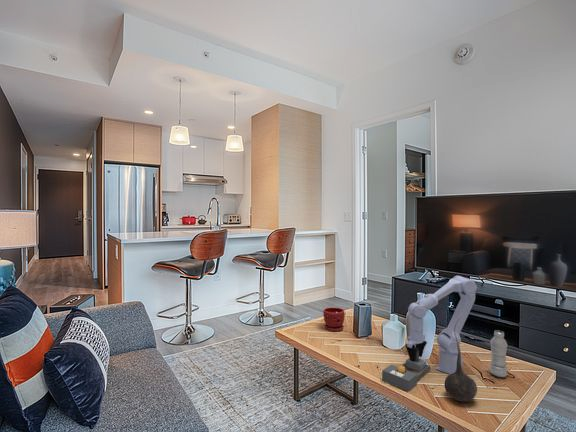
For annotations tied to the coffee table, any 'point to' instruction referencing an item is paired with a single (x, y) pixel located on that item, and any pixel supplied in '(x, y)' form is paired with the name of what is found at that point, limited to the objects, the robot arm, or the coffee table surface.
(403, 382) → the grey open box
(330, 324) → the plant pot
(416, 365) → the carriage
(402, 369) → the button
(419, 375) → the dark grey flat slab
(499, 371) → the plastic bottle
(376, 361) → the coffee table surface
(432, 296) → the robot arm
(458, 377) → the radish
